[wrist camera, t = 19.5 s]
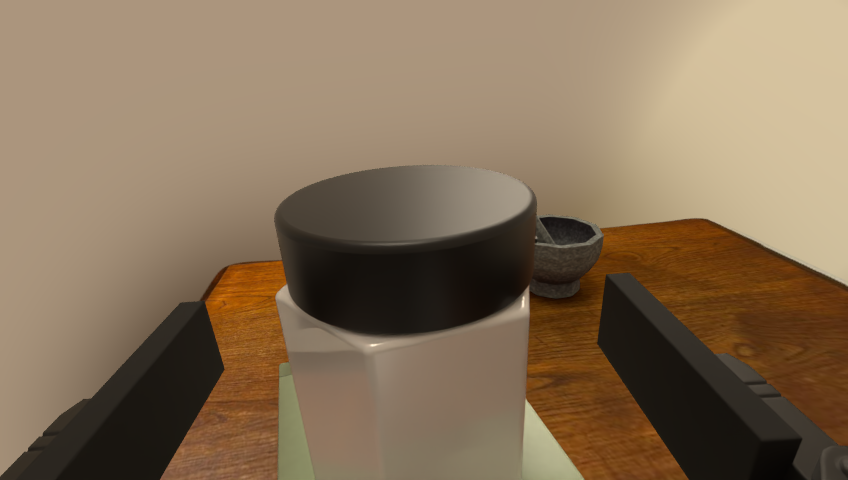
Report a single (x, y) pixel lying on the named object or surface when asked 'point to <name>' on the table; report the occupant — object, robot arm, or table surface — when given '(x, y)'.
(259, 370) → the table surface
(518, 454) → the jar
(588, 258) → the mortar and pestle
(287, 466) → the olive green cubby
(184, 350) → the robot arm
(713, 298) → the table surface
